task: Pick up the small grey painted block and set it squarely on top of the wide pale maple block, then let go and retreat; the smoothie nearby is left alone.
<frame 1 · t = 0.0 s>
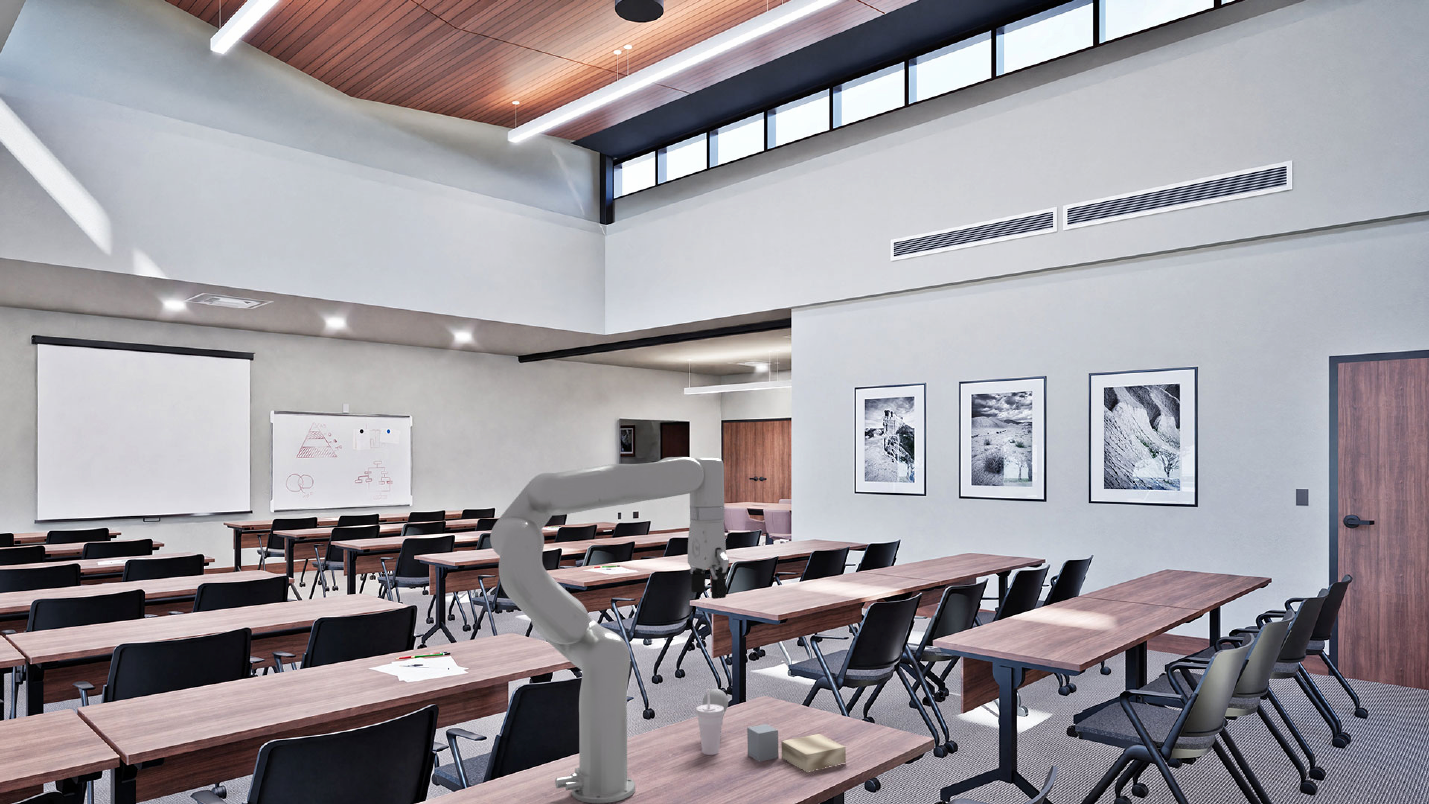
hand: (708, 594, 181), 37 cm above the table, tool pointing down, fingers open, 9 cm apart
grey block: (763, 756, 187), on the table
smoothie: (710, 752, 190), on the table
maple block: (813, 762, 183), on the table
lightbulb: (715, 737, 201), on the table
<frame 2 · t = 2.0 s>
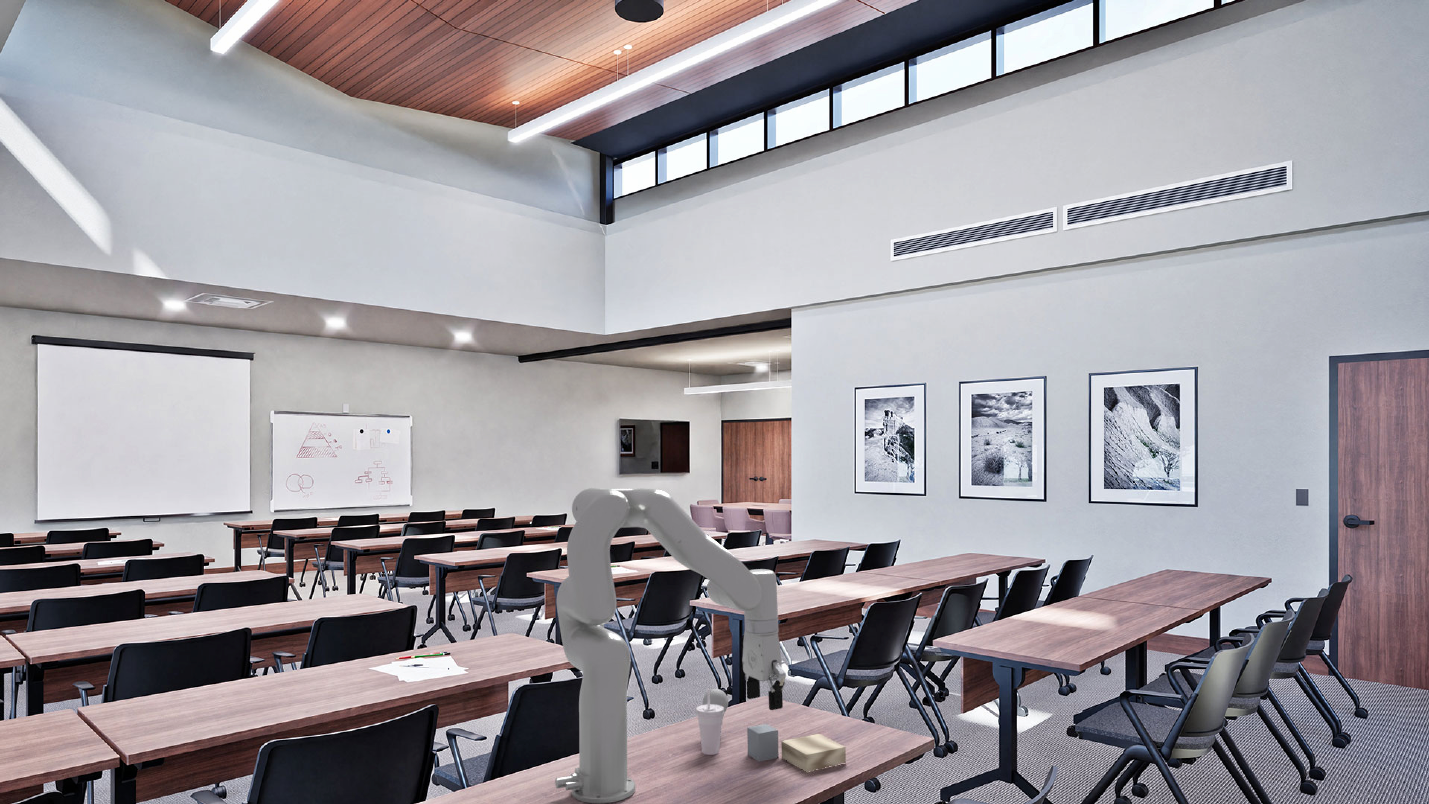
hand: (764, 703, 188), 11 cm above the table, tool pointing down, fingers open, 9 cm apart
nothing on the table moved.
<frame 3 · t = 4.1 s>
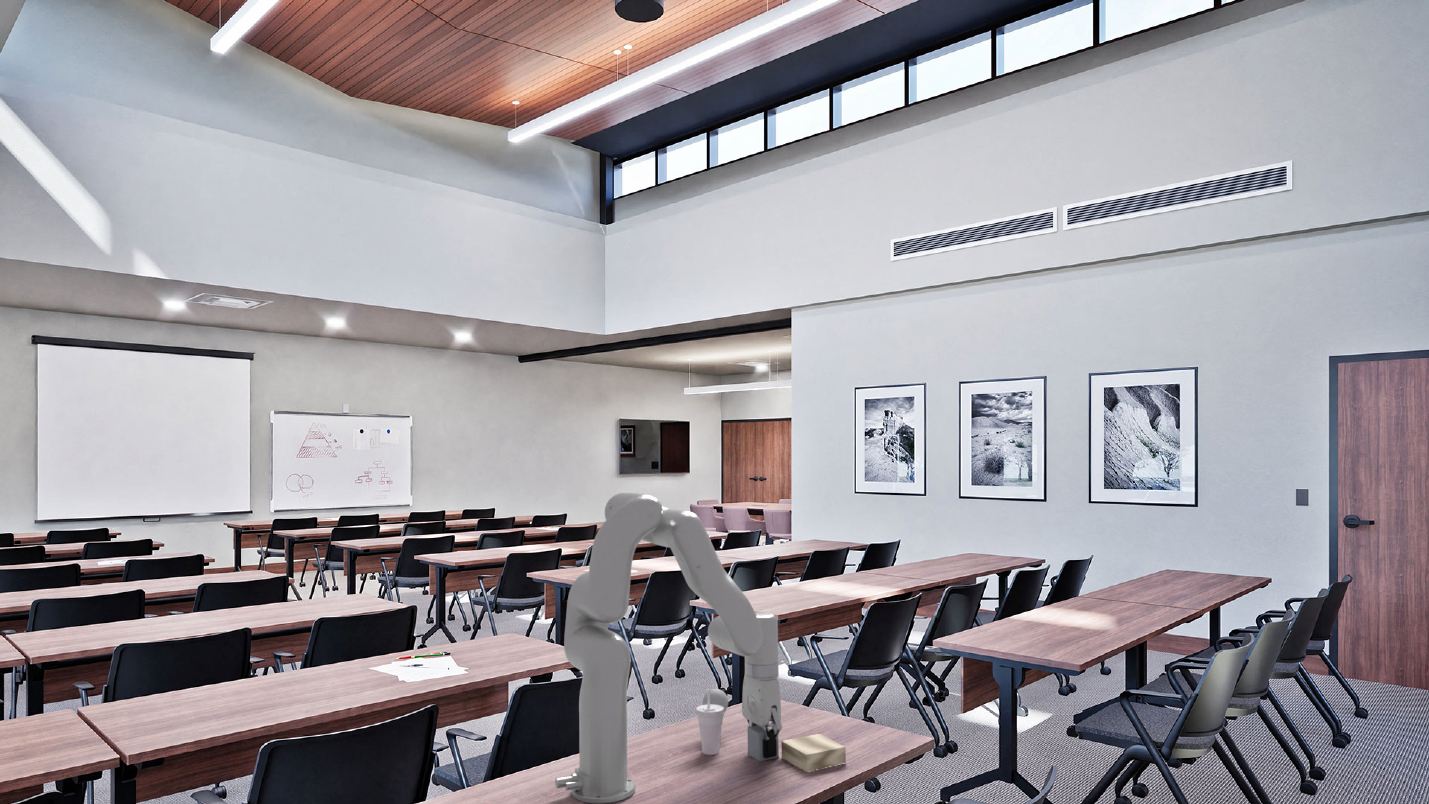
hand: (763, 752, 187), 1 cm above the table, tool pointing down, fingers closed on grey block, 5 cm apart
grey block: (763, 755, 187), on the table, touching gripper
everything else where it was.
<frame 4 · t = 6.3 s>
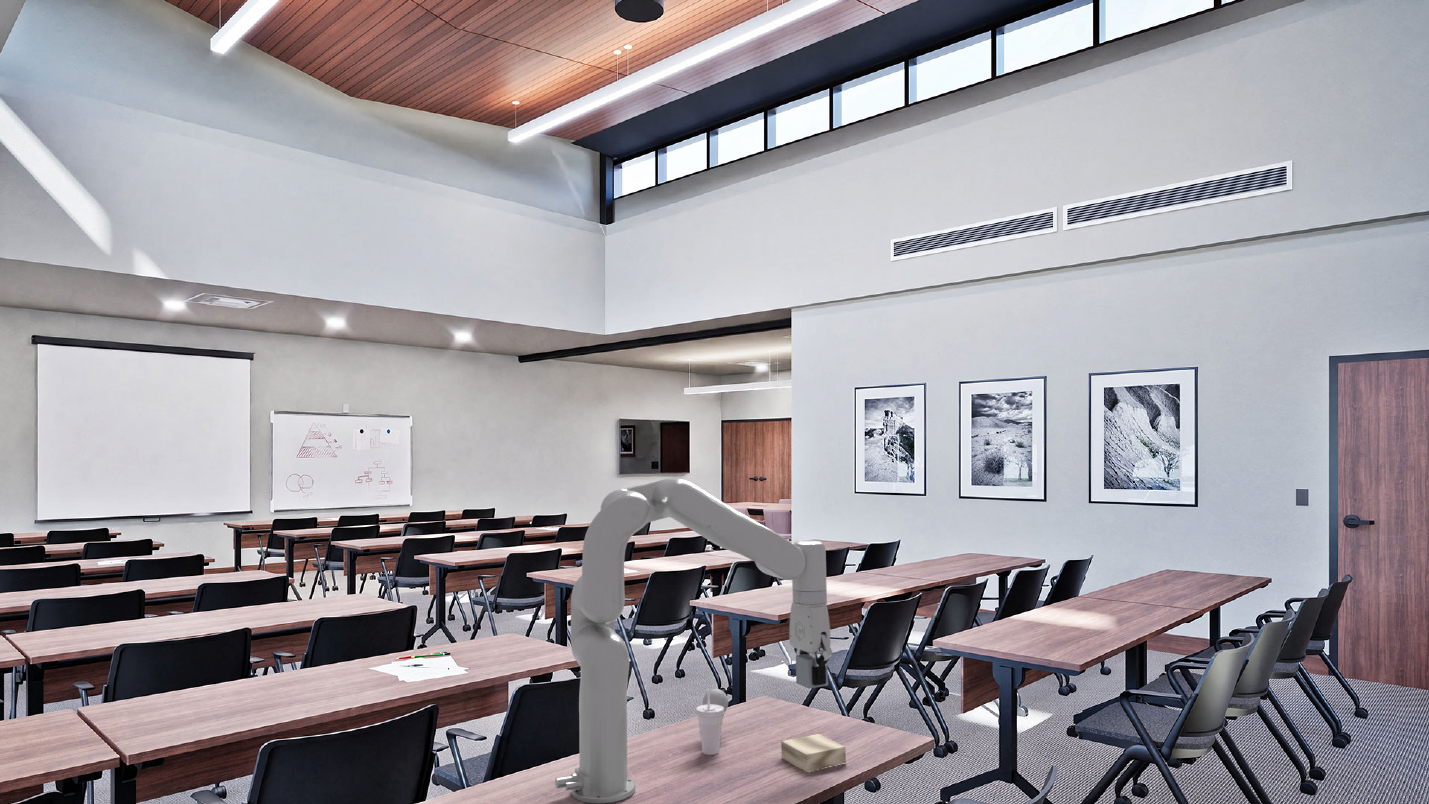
hand: (811, 680, 185), 17 cm above the table, tool pointing down, fingers closed on grey block, 5 cm apart
grey block: (812, 684, 185), point 16 cm above the table, touching gripper
everything else where it was.
when the fingers open (6 cm above the table, at t = 8.9 s): grey block drops 1 cm, point 4 cm above the table.
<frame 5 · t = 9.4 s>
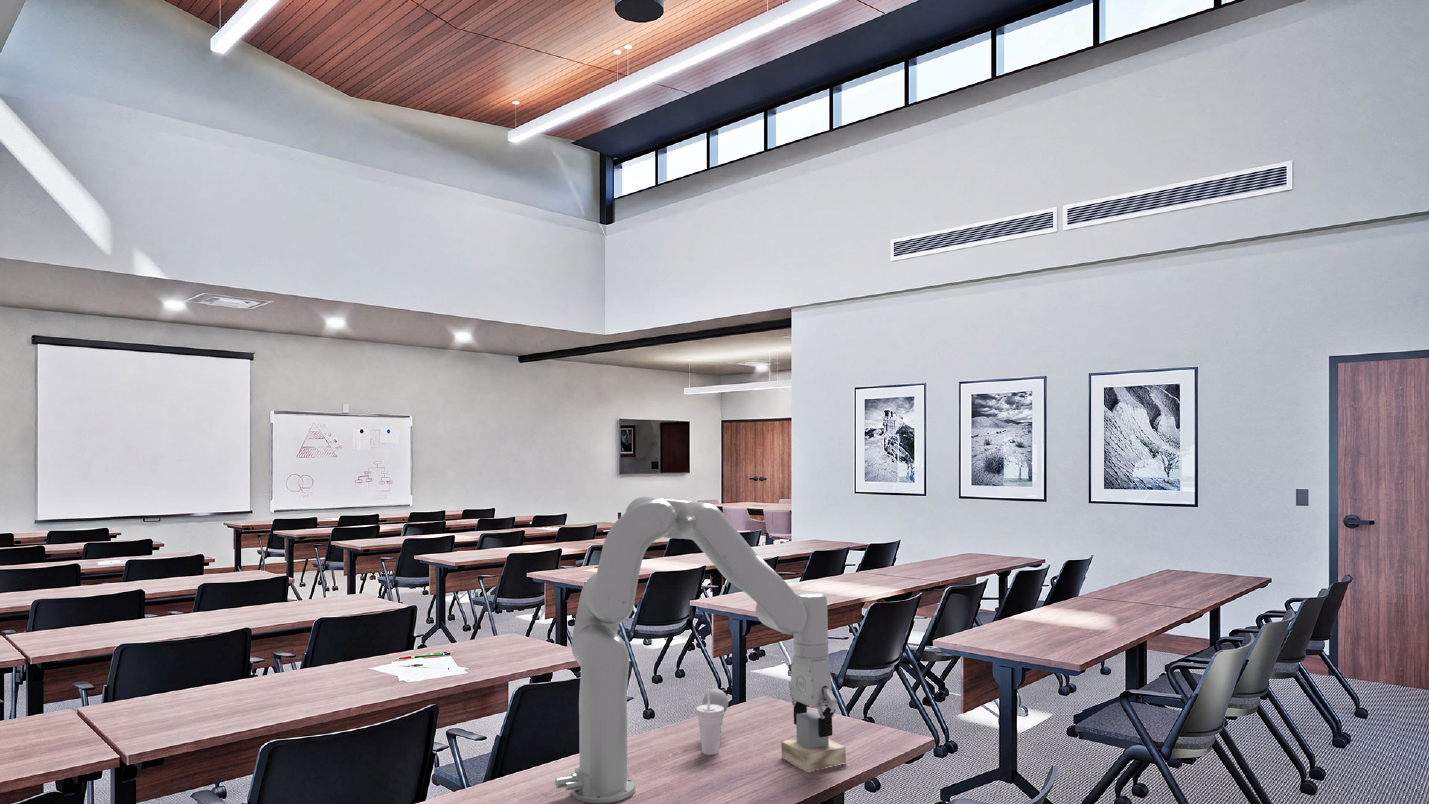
hand: (812, 729, 184), 7 cm above the table, tool pointing down, fingers open, 9 cm apart
grey block: (812, 744, 184), point 4 cm above the table
everything else where it was.
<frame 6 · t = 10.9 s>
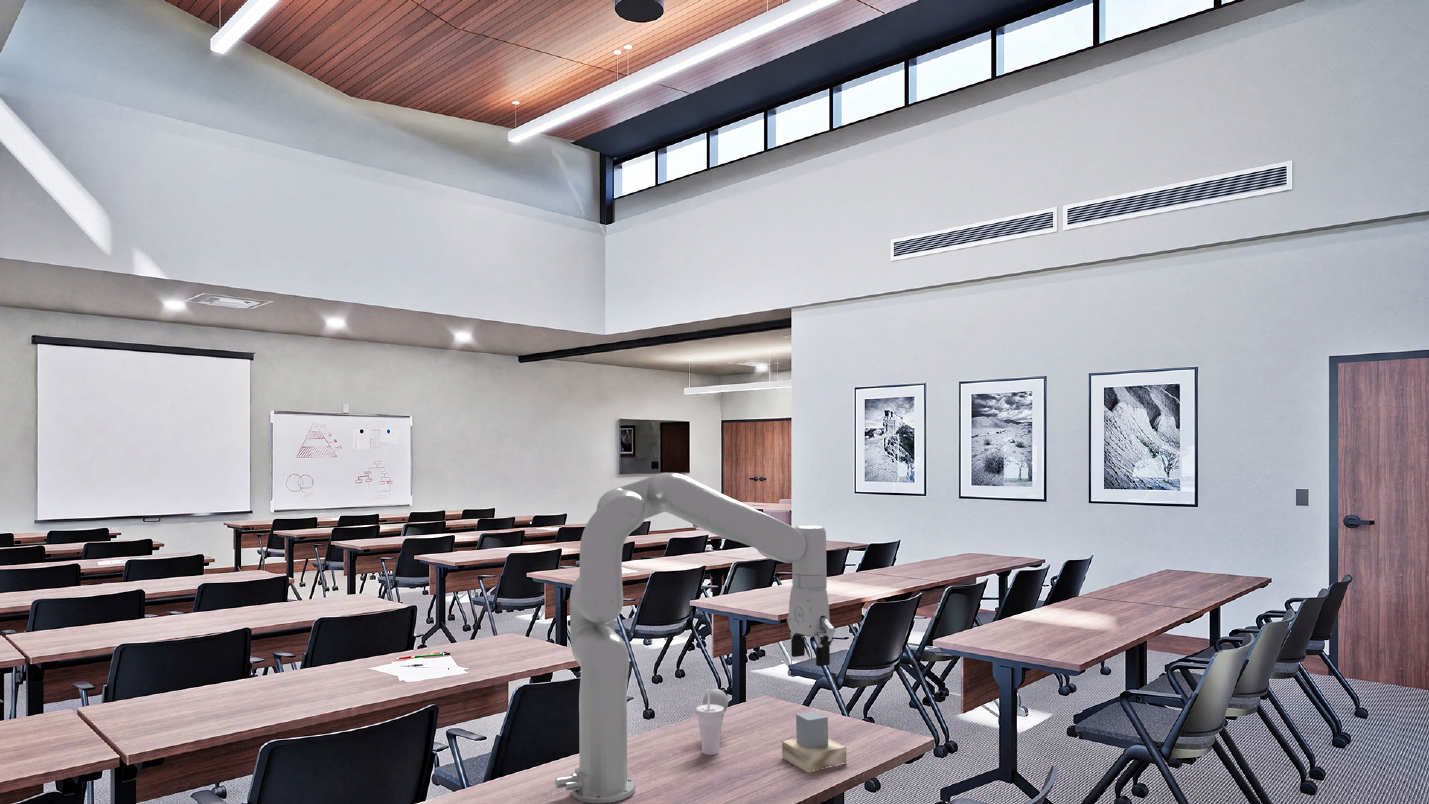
hand: (810, 660, 185), 21 cm above the table, tool pointing down, fingers open, 9 cm apart
grey block: (812, 743, 184), point 4 cm above the table, touching maple block
maple block: (814, 762, 183), on the table, touching grey block
everything else where it was.
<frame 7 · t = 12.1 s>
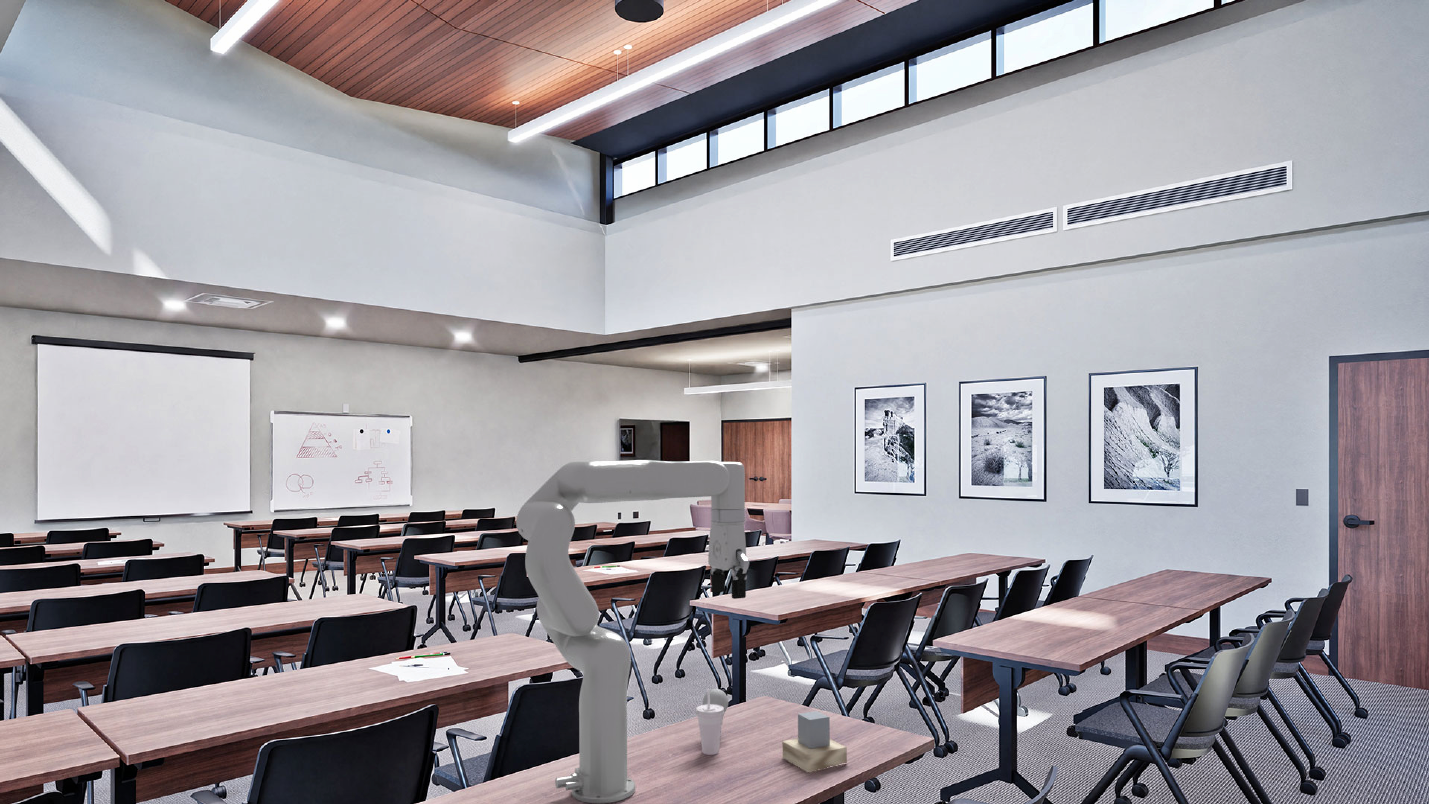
hand: (728, 595, 186), 36 cm above the table, tool pointing down, fingers open, 9 cm apart
grey block: (813, 743, 184), point 4 cm above the table
maple block: (814, 763, 183), on the table
everything else where it was.
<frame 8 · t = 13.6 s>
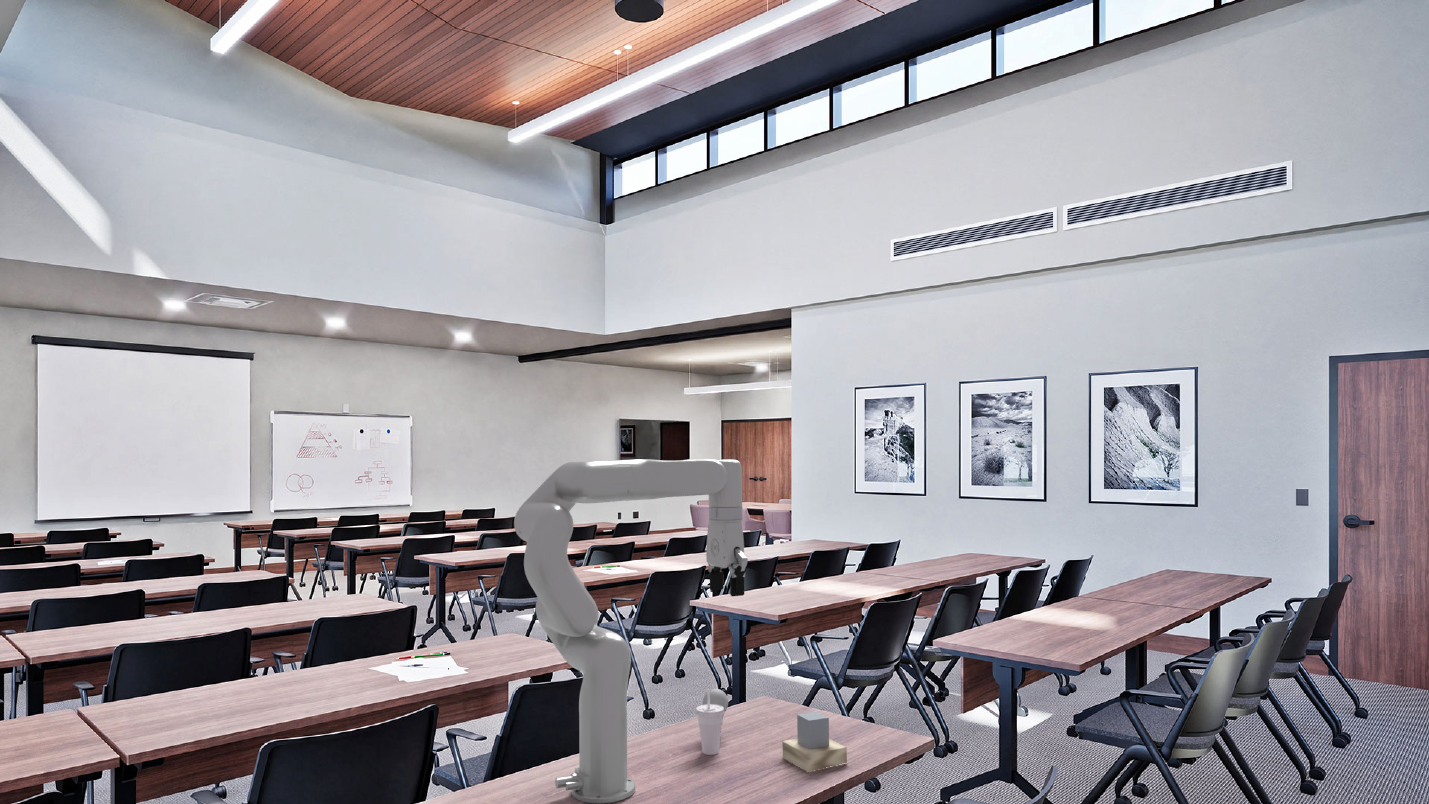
hand: (726, 592, 187), 36 cm above the table, tool pointing down, fingers open, 9 cm apart
grey block: (813, 744, 184), point 4 cm above the table, touching maple block
maple block: (814, 763, 183), on the table, touching grey block
everything else where it was.
at the end: grey block inside the target area on the maple block (0.2 cm from its centre), point 4.0 cm above the maple block's base; grey block tilted 0°; the gripper is holding nothing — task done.
